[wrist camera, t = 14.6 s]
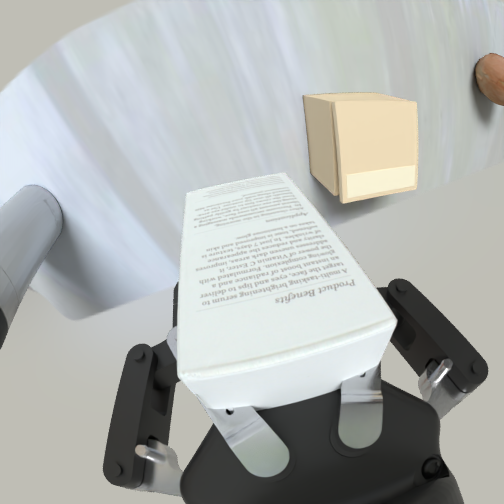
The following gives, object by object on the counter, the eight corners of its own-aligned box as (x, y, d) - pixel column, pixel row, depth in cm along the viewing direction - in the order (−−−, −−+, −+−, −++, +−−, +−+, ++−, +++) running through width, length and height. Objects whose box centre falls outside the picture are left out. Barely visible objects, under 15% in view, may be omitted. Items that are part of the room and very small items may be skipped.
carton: (310, 172, 33) (334, 196, 27) (302, 95, 26) (329, 101, 21) (375, 162, 33) (406, 182, 27) (374, 92, 27) (409, 100, 21)
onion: (476, 84, 28) (517, 115, 24) (462, 85, 27) (509, 121, 22) (487, 46, 20) (531, 76, 15) (473, 40, 18) (526, 74, 14)
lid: (339, 201, 26) (343, 204, 25) (331, 101, 21) (335, 101, 20) (412, 187, 26) (417, 189, 26) (412, 101, 21) (416, 102, 20)
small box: (294, 277, 19) (353, 417, 10) (215, 295, 18) (238, 447, 10) (287, 167, 14) (407, 320, 6) (183, 189, 14) (174, 383, 5)
